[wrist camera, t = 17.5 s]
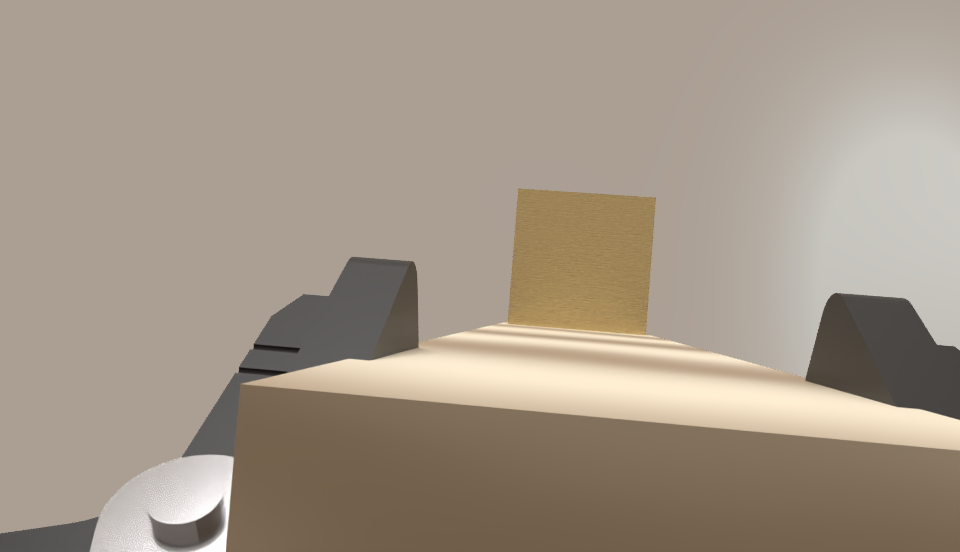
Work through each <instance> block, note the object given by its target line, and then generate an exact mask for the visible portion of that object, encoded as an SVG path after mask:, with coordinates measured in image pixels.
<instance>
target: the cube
mask: <svg viewBox="0 0 960 552" xmlns="http://www.w3.org/2000/svg"><path fill="white" fill-rule="evenodd" d="M655 201H656V198H651V197H636V196H621V195H606V194H591V193H576V192H560V191H547V190H532V189H518V201H517V212H516V225H515V237H514V250H513V263H512V275H511V288H510V302H509V314H508V324H513V325H525V326H538V327H550V328H562V329H574V330H586V331H598V332H610V333H622V334H634V335H646V323H647V309H648V294H649V282H650V269H651V255H652V242H653V227H654V214H655V213H654V212H655Z"/></svg>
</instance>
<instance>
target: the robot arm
mask: <svg viewBox="0 0 960 552" xmlns="http://www.w3.org/2000/svg"><path fill="white" fill-rule="evenodd" d="M415 348H419V342H418V289H417V271H416V266H415V264H414V262H412V261H400V260H387V259H374V258H361V257H351V258H350V259H349V261H348V262H347V264H346V266H345V268H344V270H343V271H342V273H341V275H340V277H339V279H338V280H337V282H336V284H335V286H334V288H333V290H332V291H331V293H330V295H329V296H317V295H305V294H304V295H303V296H301V297H299V298H298V299H296V300H295V301H293V302H292V303H290V304H289V305H287V306H286V307H285V308H283V309H282V310H280V311H279V312H277V313H276V314H274V315H273V316H271V318H270V319H269V321H268V323H267V324H266V326H265V328H264V329H263V330H262V332H261V334H260V335H259V337H258V338H257V340H256V341H255V343H254V349H253V350H250V351H249V352H248V354H247V356H246V357H245V359H244V360H243V362H242V363H241V365H240V367H239V373H235V374H234V376H233V378H232V379H231V381H230V382H229V384H228V385H227V387H226V389H225V390H224V392H223V393H222V395H221V396H220V398H219V400H218V401H217V403H216V404H215V406H214V407H213V409H212V411H211V412H210V414H209V415H208V417H207V418H206V420H205V422H204V423H203V425H202V426H201V428H200V429H199V431H198V433H197V434H196V436H195V437H194V439H193V440H192V442H191V443H190V445H189V447H188V448H187V450H186V451H185V453H184V454H183V456H182V458H179V459H176V460H172V461H168V462H165V463H163V464H160V465H158V466H155V467H153V468H151V469H149V470H147V471H145V472H143V473H141V474H139V475H138V476H136V477H135V478H133V479H132V480H131V481H129V482H128V483H126V484H125V485H124V486H123V487H122V488H121V489H120V490H118V491H117V492H116V493H115V494H114V495H113V497H112V498H111V499H110V500H109V501H108V502H107V504H106V506H105V507H104V509H103V510H102V512H101V514H100V516H99V517H96V518H93V519H89V520H86V521H81V522H76V523H71V524H64V525H57V526H50V527H43V528H36V529H29V530H23V531H15V532H8V533H1V534H0V552H225V550H226V539H227V528H228V517H229V506H230V495H231V484H232V472H233V461H234V450H235V439H236V428H237V417H238V406H239V394H240V384H243V383H247V382H251V381H256V380H260V379H264V378H268V377H273V376H277V375H281V374H286V373H290V372H294V371H298V370H303V369H307V368H311V367H316V366H320V365H324V364H328V363H333V362H337V361H341V360H346V359H357V360H368V361H370V360H374V359H378V358H381V357H385V356H389V355H393V354H396V353H400V352H404V351H407V350H411V349H415ZM805 381H808V382H811V383H815V384H818V385H822V386H825V387H829V388H832V389H836V390H839V391H843V392H846V393H850V394H853V395H857V396H860V397H863V398H867V399H870V400H874V401H877V402H881V403H884V404H888V405H891V406H895V407H901V408H912V409H921V410H925V411H928V412H932V413H936V414H939V415H943V416H947V417H950V418H954V419H958V420H960V350H958V349H957V348H956V347H953V346H942V345H937V344H936V343H935V341H934V340H933V338H932V336H931V335H930V333H929V332H928V330H927V328H926V327H925V326H924V324H923V322H922V321H921V319H920V317H919V316H918V314H917V313H916V311H915V309H914V308H913V306H912V305H911V303H909V301H908V300H906V299H903V298H892V297H880V296H867V295H854V294H841V293H835V294H833V295H832V296H831V297H830V298H829V299H828V301H827V303H826V306H825V308H824V311H823V315H822V318H821V322H820V326H819V329H818V333H817V337H816V341H815V345H814V349H813V353H812V356H811V360H810V364H809V368H808V372H807V376H806V379H805Z"/></svg>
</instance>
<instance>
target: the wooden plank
mask: <svg viewBox="0 0 960 552" xmlns="http://www.w3.org/2000/svg"><path fill="white" fill-rule="evenodd" d="M805 379H806V378H804V377H801V376H797V375H793V374H789V373H786V372H782V371H779V370H775V369H771V368H768V367H764V366H761V365H757V364H753V363H750V362H746V361H742V360H738V359H735V358H731V357H727V356H724V355H720V354H717V353H713V352H709V351H706V350H702V349H699V348H695V347H691V346H688V345H684V344H680V343H677V342H673V341H669V340H666V339H662V338H658V337H655V336H651V335H647V334H646V335H634V334H622V333H610V332H598V331H586V330H574V329H562V328H550V327H538V326H525V325H513V324H508V322H504V323H500V324H495V325H491V326H487V327H482V328H478V329H474V330H470V331H466V332H461V333H457V334H453V335H448V336H444V337H440V338H435V339H431V340H427V341H423V342H419V348H415V349H411V350H407V351H404V352H400V353H396V354H393V355H389V356H385V357H381V358H378V359H374V360H370V361H368V360H357V359H346V360H341V361H337V362H333V363H328V364H324V365H320V366H316V367H311V368H307V369H303V370H298V371H294V372H290V373H286V374H281V375H277V376H273V377H268V378H264V379H260V380H256V381H251V382H247V383H243V384H240V394H239V406H238V417H237V428H236V439H235V450H234V461H233V472H232V484H231V495H230V506H229V517H228V528H227V539H226V550H225V552H960V420H958V419H954V418H950V417H947V416H943V415H939V414H936V413H932V412H928V411H925V410H921V409H912V408H901V407H895V406H891V405H888V404H884V403H881V402H877V401H874V400H870V399H867V398H863V397H860V396H857V395H853V394H850V393H846V392H843V391H839V390H836V389H832V388H829V387H825V386H822V385H818V384H815V383H811V382H808V381H805Z"/></svg>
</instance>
